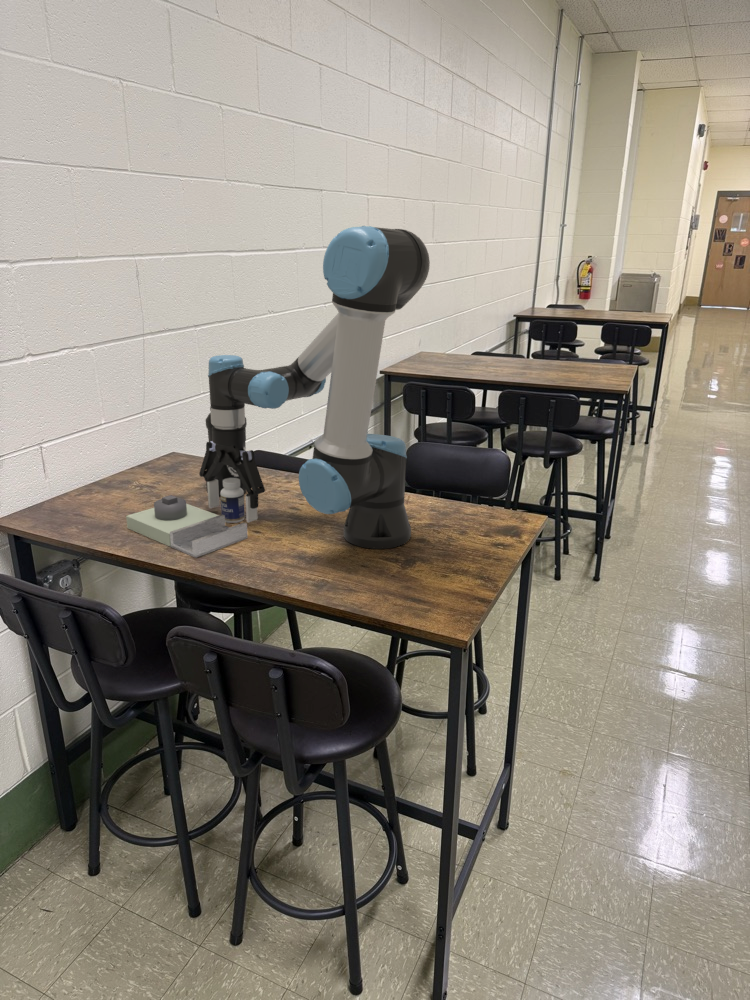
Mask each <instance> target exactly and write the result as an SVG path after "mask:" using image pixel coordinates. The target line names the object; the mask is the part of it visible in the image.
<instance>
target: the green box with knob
mask: <svg viewBox="0 0 750 1000" xmlns="http://www.w3.org/2000/svg"><path fill="white" fill-rule="evenodd" d="M219 515H220V514H216V513H214V512H210V511H207V510H205V509H202V508H199V507H197V506H194V505H191V504H189V503H187V500H186V499H185V498H182V497H177V496H175V495H172V494H170V495H167V496H164V497H161V498H160V499H157V500H155V501H154V502H153V507H151V508H149V509H144V510H142V511H138V512H134V513H130V514H129V515H125V519H126V528H127V529H128V530H131V531H133V532H136V533H137V534H140V535H142V536H144V537H146V538H149V539H151V540H154V541H156V542H158V543H161V544H163V545H165V546H168V547H169V548H172V547H171V541H170V532H171V531H174V530H177V529H180V528H183V527H186V526H189V525H192V524H195V523H198V522H201V521H204V520H207V519H210V518H213V517H216V516H219Z"/></svg>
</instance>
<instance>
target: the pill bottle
mask: <svg viewBox="0 0 750 1000" xmlns="http://www.w3.org/2000/svg"><path fill="white" fill-rule="evenodd" d="M223 487H224V488H223V489H222V490H221V492H220V496H221V497H220V515H225V523H228V524H236V523H240V522H243V521H244V520H245V519H246V516H245V515H246V513H245V512H246V509H245V494H244V491H243V489H242V488H240V479H238V478H227V479H224V480H223Z"/></svg>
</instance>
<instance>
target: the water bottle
mask: <svg viewBox="0 0 750 1000" xmlns="http://www.w3.org/2000/svg"><path fill="white" fill-rule="evenodd" d="M209 410H210V413H208V414H207V417H206V418H205V427H206V429H207V437H208V442H210V441H212V427H213V425H212V424H211V409H210V408H209ZM243 425H244V426H245V428H247V417H246V416H245V424H243ZM243 449H244V451H247V447H246V441H245V442H244V444H243ZM216 455H217V454H216ZM240 464H241V462H240ZM217 477H218V478H217ZM217 477H216V479H214V480H218V487H219V498H221V496H220V492H221V490H222V489H223V488H224V487H223V480H224V479H227V478H238V479H240V477H239V476H238V474H237V472H236V471H235V470H233V468H232V467H230V466H228V465H223V467H222V469H221V470H220V472H219V473H218V475H217ZM240 488H242V489H243V491H244V495H246V494H247V491H246V489H245V487H244V485H243V483H242V481H241V479H240Z"/></svg>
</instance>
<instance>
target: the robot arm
mask: <svg viewBox="0 0 750 1000" xmlns="http://www.w3.org/2000/svg"><path fill="white" fill-rule="evenodd" d="M430 267H431V266H430V256H429V252H428V248H427V246H426V244H425V243H424V242H423V239H421V238H420V237H419V236H418V235H416V234H415V233H414V232H412V231H410V230H407V229H402V228H387V227H386V228H384V227H379V226H378V227H375V226H372V225H371V226H370V225H369V226H368V225H367V226H366V225H362V226H352V227H348V228H344V229H343V230H341V231H339V233H338V234H337V235H335V236H333V238H332V239H331V240H330V242H329V244H328V246H327V248H326V250H325V253H324V257H323V263H322V273H323V279H324V280H326V281H327V282H326V285H327V287H328V288H329V290H330V291H331V292H332V299H331V302H332V305H333V306H334V307H335V309H336V311H338V313H337V314H336V315H335V316H333V318H332V319H331V320H330V321H329V323H328V324H327V325H326V326H324V328H323V329H322V330H321V331H320V333H319V334H318V335H317V336H315V338H314V339H313V340H312V341H311V342H310V344H308V346H307V347H306V348H305V349H304V350H303V351H302V353H300V355H299V356H298V357H297V358H296V359H295V360H294V361H293V362H292V363H291V364H289V365H284V366H277V367H270V368H265V369H254V368H253V369H251V368H247V367H245V365H244V361H243V358H242V357H241V356H239V355H233V354H220V355H214V356H212V357H210V358H209V360H208V374H207V377H208V388H209V404H210V407H209V410H210V409H211V411H210V413H211V424H212V425H213V427H212V441H210V442H209V441H206V443H205V453H204V456H203V459H202V463H201V467H200V470H199V476H200V477H201V478H204V481H205V484H206V493H207V501H208V502H207V504H208V508H209V509H213V508H216V507H219V506H220V497H219V487H218V480H214V479H216V477H217V475H218V473H219V472H220V470H221V469H222V467H223V465H228V466H230V467H232V468H233V470H235V471H236V472H237V474H238V476H239V477H240V479H241V481H242V483H243V485H244V487H245V489H246V494H245V512H246V513H245V515H246V516H245V519H246V522H247V523H252V522H255V521H257V520H258V508H259V495H260V494H262V493H265V492H266V489H265V486H264V483H263V480H262V477H261V475H260V471H259V468H258V466H257V462H256V459H255V452H254V450H246V451H244V449H243V444H244V442H246V440H247V432H246V430H247V429H246V428H247V427H246V428H245V426H244V425H243V424H245V417H246V410H245V405H250V406H254V407H257V408H261V409H274V410H276V409H279V408H281V406H282V405H283V404H285V402H287V401H290V400H291V401H292V400H297V399H301V398H309V397H312V396H314V395H317V394H319V393H321V392H322V391H323V390H324V388H325V385H326V382H327V377H328V376H329V375H330V380H329V381H330V382H329V389H328V395H327V402H326V412H325V418H324V420H325V421H324V427H323V434H322V435H320V436H319V437H317V438H316V439H315V441H314V445H313V450H312V451H313V453H312V458H310V459H308V460H306V461H305V463H303V464H302V465H301V467H300V468H299V472H298V485H299V489H300V491H301V495H302V496H303V497H304V498H305V501H306V502H307V503H308V504H309V506H311V507H312V508H313V509H314V510H315V511H317V512H319V513H322V514H324V515H335V514H337V513H343V512H346V511H347V510H349V511H348V513H347V516H346V519H345V523H344V525H343V538H344V539H345V541H346V542H348V543H350V544H352V545H354V546H357V547H361V548H364V549H375V550H376V549H377V550H378V549H379V550H384V549H392V548H396V547H397V546H398V547H400V545H401V546H402V544H403V545H405V544H406V542H407V541H408V540H409V539H410V540H411V538H410V537H412V527H411V524H410V521H409V517H408V513H407V508H406V506H405V493H406V472H407V471H406V467H407V458H408V456H407V445H406V443H405V441H404V440H403V439H401V438H399V437H396V436H391V435H387V434H386V435H385V434H378V433H369V429H370V428H369V427H370V420H371V414H372V408H373V401H374V395H375V388H376V384H377V383H376V382H377V377H378V371H379V370H378V368H379V365H380V357H381V352H382V345H383V338H384V331H385V326H386V320H387V319H388V318H390V317H391V316H392V315H394V314H395V313H396V311H399V310H402V309H403V307H405V306H406V305H407V304H408V303H409V302H410V301H411V300H412V298H413V297H415V296H416V294H418V292H419V291H420V290H421V288H422V287H423V286H424V284H425V282H426V281H427V278H428V277H429V272H430ZM216 454H217V455H216ZM240 462H241V464H240ZM217 478H218V477H217ZM410 540H409V541H410ZM409 541H408V542H409ZM408 542H407V543H408ZM404 543H405V544H404ZM398 547H397V548H398Z"/></svg>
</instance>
